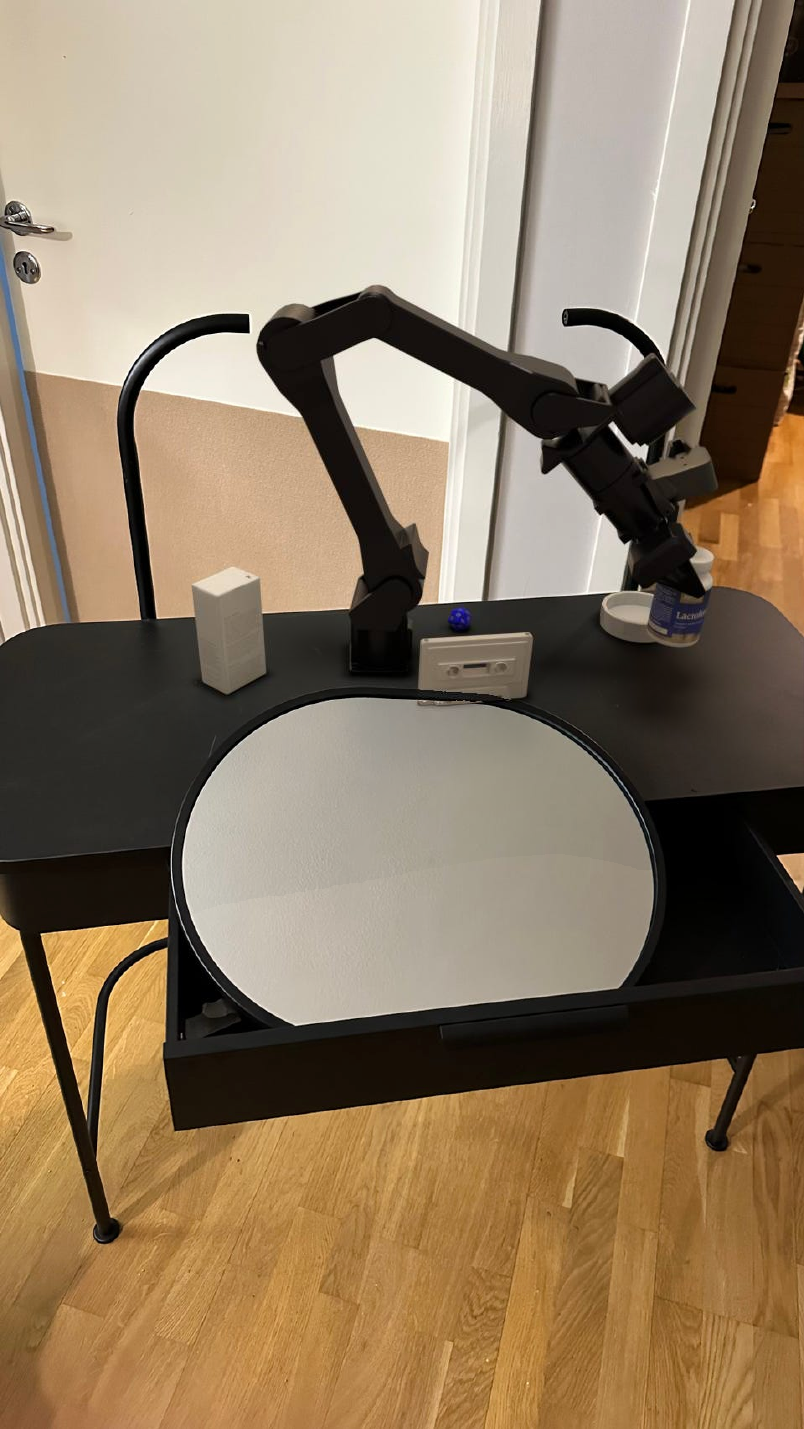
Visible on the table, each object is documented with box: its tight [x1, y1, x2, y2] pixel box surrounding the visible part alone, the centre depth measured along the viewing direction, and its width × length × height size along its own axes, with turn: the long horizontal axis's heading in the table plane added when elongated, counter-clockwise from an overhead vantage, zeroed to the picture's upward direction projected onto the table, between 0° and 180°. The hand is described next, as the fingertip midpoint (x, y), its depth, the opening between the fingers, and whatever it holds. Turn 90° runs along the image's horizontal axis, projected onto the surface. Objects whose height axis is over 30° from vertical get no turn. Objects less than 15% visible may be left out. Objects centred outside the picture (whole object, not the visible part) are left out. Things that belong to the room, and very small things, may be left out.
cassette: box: [417, 631, 534, 707], centre depth 104 cm, size 12×2×8 cm, turn 100°
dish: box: [599, 590, 657, 644], centre depth 121 cm, size 9×9×2 cm
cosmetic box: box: [191, 566, 267, 695], centre depth 105 cm, size 6×4×12 cm
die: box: [447, 606, 473, 632], centre depth 119 cm, size 3×3×3 cm
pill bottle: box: [647, 545, 715, 648], centre depth 105 cm, size 6×6×10 cm
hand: (697, 582), depth 104 cm, fingers closed on pill bottle, 6 cm apart
